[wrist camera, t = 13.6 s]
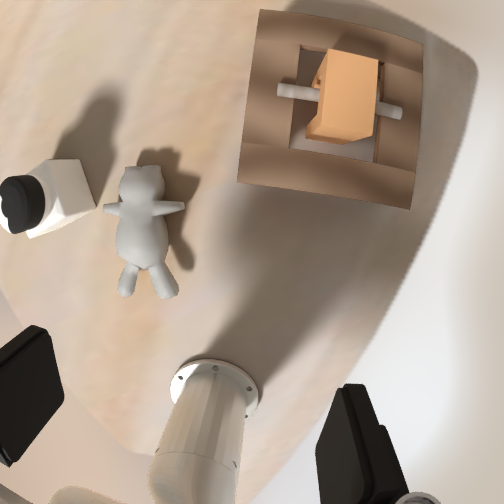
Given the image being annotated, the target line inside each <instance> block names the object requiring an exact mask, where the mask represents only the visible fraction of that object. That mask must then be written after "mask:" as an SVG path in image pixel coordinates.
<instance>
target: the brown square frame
mask: <svg viewBox="0 0 504 504" xmlns="http://www.w3.org/2000/svg"><path fill="white" fill-rule="evenodd" d="M300 49H304V50H310V51H316V52H322V53H327V51H328V49H333V50H338V51H343V52H348V53H352V54H356V55H360V56H365V57H369V58H372V59H376V60H378V75H377V78H379V79H381V81H380V97H379V101H376V102H375V114H378V121H377V132H376V141H375V150H374V158H373V163H371V162H366V161H361V160H356V159H351V158H346V157H341V156H335V155H329V154H323V153H317V152H311V151H305V150H298V149H291V148H288V146H289V138H290V130H291V121H292V113H293V105H294V98H296V99H303V100H309V101H315V102H319V93H320V89H318V88H312V87H306V86H299V85H296V78H297V69H298V60H299V50H300ZM422 86H423V44H421V43H418V42H415V41H412V40H409V39H406V38H403V37H400V36H397V35H394V34H391V33H387V32H384V31H380V30H377V29H373V28H369V27H365V26H361V25H357V24H353V23H349V22H344V21H340V20H335V19H330V18H324V17H319V16H313V15H306V14H300V13H292V12H284V11H275V10H264V9H260V11H259V18H258V25H257V32H256V38H255V45H254V52H253V59H252V67H251V74H250V81H249V89H248V96H247V104H246V111H245V119H244V127H243V135H242V143H241V151H240V159H239V168H238V176H237V182H239V183H247V184H256V185H264V186H271V187H279V188H286V189H293V190H300V191H307V192H314V193H320V194H327V195H333V196H339V197H345V198H351V199H356V200H362V201H368V202H373V203H379V204H384V205H389V206H394V207H399V208H404V209H409V210H410V207H411V201H412V195H413V188H414V181H415V174H416V166H417V157H418V148H419V137H420V125H421V110H422Z"/></svg>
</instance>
